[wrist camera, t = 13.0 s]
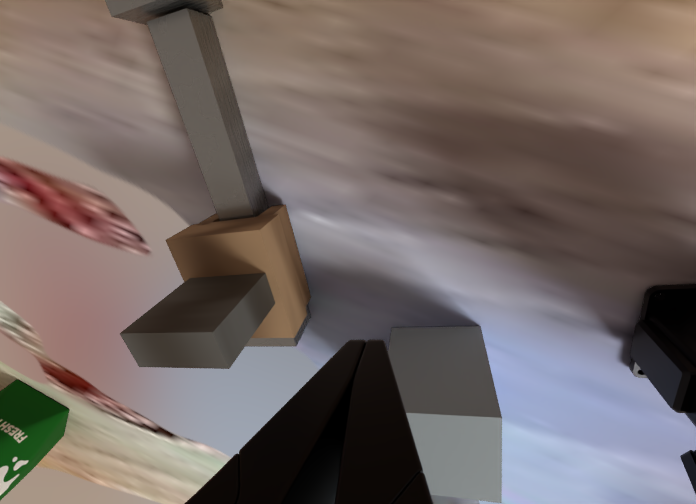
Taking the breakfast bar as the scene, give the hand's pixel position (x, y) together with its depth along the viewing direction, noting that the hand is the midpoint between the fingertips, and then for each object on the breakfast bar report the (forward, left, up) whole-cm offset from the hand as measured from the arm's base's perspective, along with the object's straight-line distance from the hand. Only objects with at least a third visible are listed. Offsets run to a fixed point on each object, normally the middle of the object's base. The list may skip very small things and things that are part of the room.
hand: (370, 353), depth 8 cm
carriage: (+10, +3, -13) cm, 17 cm away
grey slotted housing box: (-1, +13, -13) cm, 18 cm away
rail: (+10, -2, -13) cm, 17 cm away
